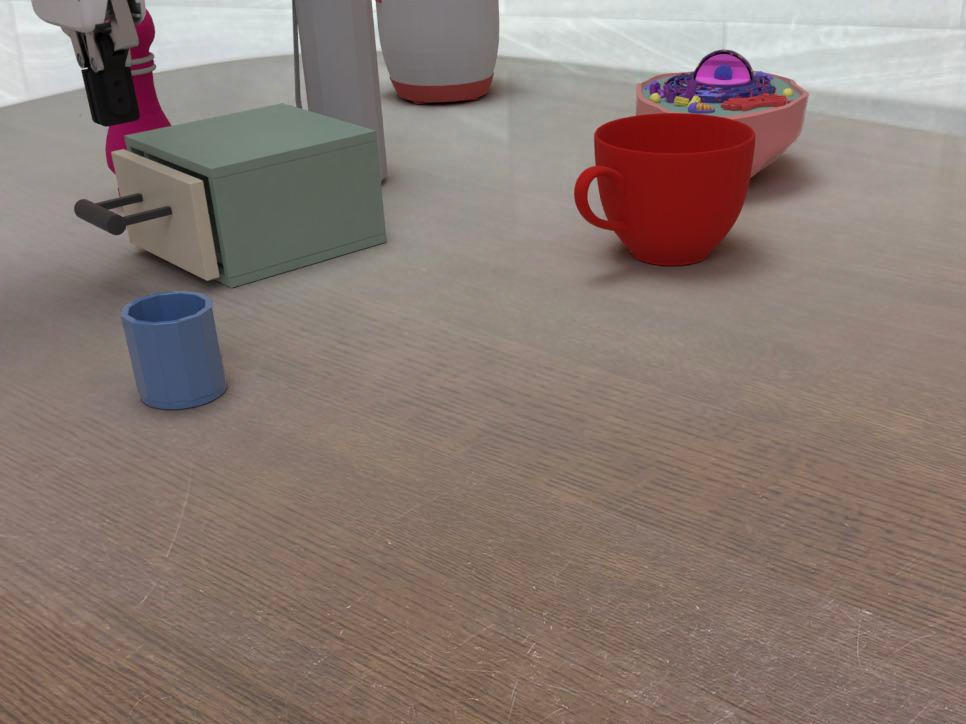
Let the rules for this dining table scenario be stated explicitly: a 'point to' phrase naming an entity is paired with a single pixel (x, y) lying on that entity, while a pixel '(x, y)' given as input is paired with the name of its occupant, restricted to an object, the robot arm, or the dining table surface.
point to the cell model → (732, 100)
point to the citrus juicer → (439, 47)
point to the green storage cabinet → (279, 186)
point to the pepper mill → (139, 93)
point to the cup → (174, 349)
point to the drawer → (161, 212)
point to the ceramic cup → (669, 183)
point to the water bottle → (339, 63)
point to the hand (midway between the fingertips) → (117, 121)
